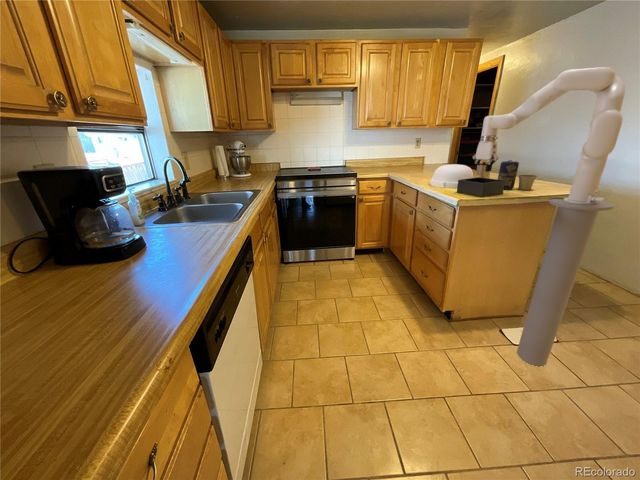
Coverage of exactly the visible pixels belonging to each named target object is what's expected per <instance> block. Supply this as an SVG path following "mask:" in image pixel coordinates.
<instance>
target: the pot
mask: <svg viewBox="0 0 640 480" xmlns="http://www.w3.org/2000/svg"><path fill="white" fill-rule="evenodd" d="M487 165H488V163H486V162H483V163H478V164H477V171H475V176H476V175H478V176H487V175H488V173H489V172H486V169H487Z"/></svg>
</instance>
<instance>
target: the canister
mask: <svg viewBox="0 0 640 480" xmlns="http://www.w3.org/2000/svg"><path fill="white" fill-rule="evenodd" d="M499 165H500V166H499V171H498V175H497V179H498V180H505V185H504V190H513V189H514V188H515V183H516V179H517V175H518V171H519V165H520V162H519V161H515V160H514V161H513V160H512V159H508V160H507V161H501V162H500V164H499Z"/></svg>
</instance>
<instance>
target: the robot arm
mask: <svg viewBox="0 0 640 480" xmlns="http://www.w3.org/2000/svg"><path fill="white" fill-rule="evenodd" d="M570 91H589V92H593V93H594V94H596V101H595V107H594V110H593V114H592V117H591V119H590V122H589V131H588V135H587V139H586V141H585V142H584V144H583V146H582V149H581V152H580V156H579V160H578V164H577V167H576V170H575V173H574V177H573V180H572V184H571V187H570V190H569V194H568V196H567V197H568V198H565V197H564V198H563V199H564V201H565V202H568V203H573V204H582V205H594V204H597V202H604V201H606V198H605V197H601V196H600V197H599V194H597V191H598V188H599V185H600V182H601V179H602V176H603V174H604V170H605V168H606V164H607V161H608V157H609V155H610V154H611V153H612V152H613V151H614V149H615V147H616V144H617V141H618V138H619V134H620V131H621V128H622V125H623V120H624V119H623V115H622V113H621V111H622V107H623V102H624V98H625V94H626V86H625V83H624V81H623V80H622V78H621V77H619V76H618V75H616V71H615V69H613V68H612V67H608V66H600V67H586V68H571V69H570V68H569V69H566V70H564V71H562V72H561V73H560V74H558V75H557V76H556V78H554V79H553V80H551V81H550V82H549V83H547V84H546V85H545V86H543V87H542V88H540V89H538V90H537V91H536V92H534V93H533V94H531V96H529V97H528V98H527V99H526V101H524V102H523V103H522V104H521V105H520V106H518V107H517V108H515V109H514V110H513V111H511V112H510V113H505V114H499V115H487V116H485V117H484V118H483V123H482V129H481V135H480V140H479V142H478V145H477V148H476V151H475V152H476V153H475V154H474V155H472V159H473V162H474V164H475V167H474V171H475V172H476V171H477V164H478V163H480V162H481V160H488V165H487V169H486V172H490V171H491V172H492V167H493V165H494V164H495V163H496V162H497V161H498V160H499V156H498V153H497V152H498V141H497V140H498V138H499V137H498V136H497V135H498V130H509V129H512V128H514V127H515V126H517V125H518V124H520V123H521V122H523V121H525V120H526V119H527V118H529V117H531V116H532V115H533V114H536V113H537V112H539V111H540V110H542V109H543V108H545V107H547V106H548V105H550V104H551V103H552V102H554V101H555V100H557V99H559V98H561V97H562V96H564V95H565V94H567V93H568V92H570ZM491 172H490V173H491Z"/></svg>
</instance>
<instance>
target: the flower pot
mask: <svg viewBox="0 0 640 480" xmlns="http://www.w3.org/2000/svg"><path fill="white" fill-rule="evenodd" d="M517 175H518V190H520V191H531V190H532V187H533V185H534V183H535V180H536V179H537V177H538V175H535V174H517Z"/></svg>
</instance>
